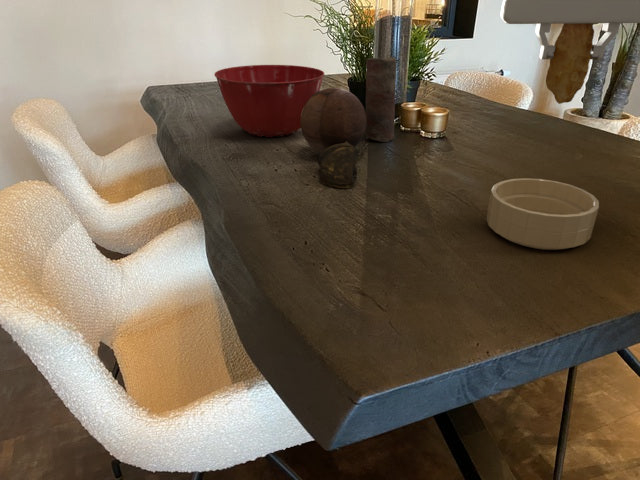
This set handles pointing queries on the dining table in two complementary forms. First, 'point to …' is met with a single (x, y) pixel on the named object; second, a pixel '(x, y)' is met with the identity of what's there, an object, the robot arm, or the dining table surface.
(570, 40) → the stone tool
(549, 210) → the bowl
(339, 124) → the wooden sphere
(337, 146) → the seashell
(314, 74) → the mixing bowl
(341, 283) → the dining table surface
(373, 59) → the candle
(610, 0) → the robot arm
